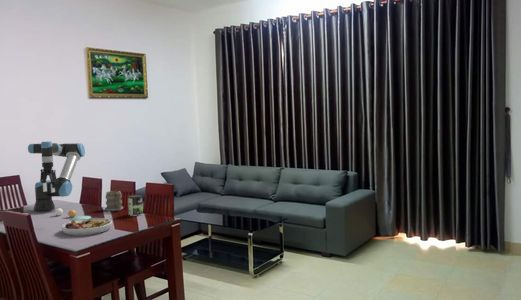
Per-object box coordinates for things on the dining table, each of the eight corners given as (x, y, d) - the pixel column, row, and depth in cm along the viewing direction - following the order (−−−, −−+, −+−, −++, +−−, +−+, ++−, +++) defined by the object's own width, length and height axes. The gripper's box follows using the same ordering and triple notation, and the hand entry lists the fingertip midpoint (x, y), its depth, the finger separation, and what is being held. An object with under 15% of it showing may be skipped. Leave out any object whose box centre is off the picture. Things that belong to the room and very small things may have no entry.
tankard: (103, 209, 342) (102, 190, 341) (119, 207, 350) (118, 188, 349) (112, 213, 326) (112, 193, 325) (128, 210, 334) (128, 191, 333)
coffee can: (145, 213, 324) (144, 194, 323) (138, 216, 314) (138, 197, 313) (132, 212, 326) (132, 194, 325) (126, 215, 316) (125, 197, 315)
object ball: (66, 217, 313) (66, 210, 313) (72, 216, 318) (72, 208, 318) (71, 218, 311) (71, 210, 310) (77, 216, 316) (77, 209, 315)
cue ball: (53, 216, 320) (53, 208, 319) (59, 214, 324) (59, 207, 324) (58, 216, 317) (58, 209, 317) (64, 215, 322) (64, 207, 322)
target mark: (65, 219, 307) (65, 219, 307) (81, 215, 320) (81, 215, 320) (79, 221, 301) (79, 220, 301) (95, 217, 314) (95, 216, 314)
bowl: (86, 223, 295) (86, 212, 294) (122, 227, 284) (121, 215, 283) (50, 235, 267) (50, 222, 266) (88, 239, 256) (88, 226, 255)
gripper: (33, 162, 324) (35, 191, 326) (52, 162, 314) (54, 193, 316) (42, 161, 331) (44, 190, 332) (61, 161, 321) (62, 191, 323)
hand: (49, 191), depth 324 cm, fingers open, 8 cm apart
